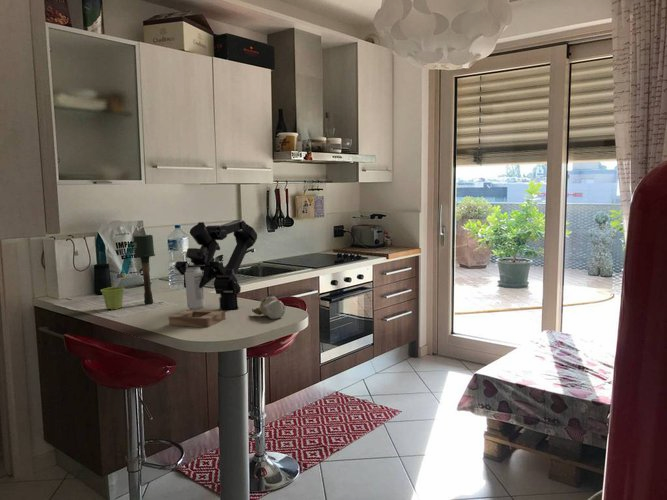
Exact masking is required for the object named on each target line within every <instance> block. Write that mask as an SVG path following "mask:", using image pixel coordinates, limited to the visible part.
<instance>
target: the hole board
mask: <svg viewBox="0 0 667 500" xmlns="http://www.w3.org/2000/svg"><path fill="white" fill-rule="evenodd" d="M225 320H226V310H210V309H209V310H208V309H207V310H206V309H205V310H203V309H200V310H190V309H187V310H185V311H181V312H178V313H176V314H173V315H172V316H168V324H169V325H168V326H172V327H173V326H175V327H177V326H178V327H193V328H194V327H198V328H209V327H211V326H213V325H216V324H218V323H220V322H222V321H225Z"/></svg>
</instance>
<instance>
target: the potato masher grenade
mask: <svg viewBox="0 0 667 500" xmlns="http://www.w3.org/2000/svg"><path fill="white" fill-rule="evenodd" d="M133 247H134V258H140V263H141V270H142V278H143V289H144V294H143V297H144V299H143V300H144V301H143V302H144V305H146V304H149V305H153V302H154V299H153V294H152V287H151V286H152V285H151V276H150V275H151V274H150V272H151V270H150V258H151V257H155V256H156V253H155V246H154V236H153V234H143V235H134V236H133Z"/></svg>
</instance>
